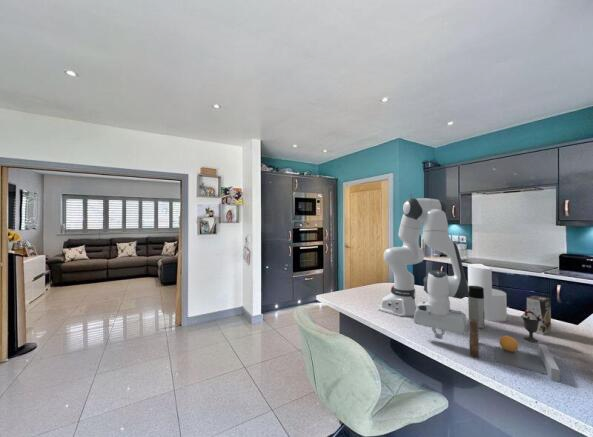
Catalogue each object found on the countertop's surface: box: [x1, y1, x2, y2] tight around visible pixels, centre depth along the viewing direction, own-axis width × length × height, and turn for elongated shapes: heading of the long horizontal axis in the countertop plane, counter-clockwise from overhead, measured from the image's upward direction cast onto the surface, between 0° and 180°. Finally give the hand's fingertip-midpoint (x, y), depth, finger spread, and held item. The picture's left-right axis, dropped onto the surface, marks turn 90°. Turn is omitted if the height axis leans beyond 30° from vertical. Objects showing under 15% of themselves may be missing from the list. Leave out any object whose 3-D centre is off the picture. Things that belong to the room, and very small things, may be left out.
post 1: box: [469, 321, 479, 334], centre depth 111 cm, size 3×3×9 cm
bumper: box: [538, 343, 561, 383], centre depth 92 cm, size 2×20×4 cm, turn 144°
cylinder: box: [467, 263, 508, 322], centre depth 141 cm, size 17×17×28 cm
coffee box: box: [526, 295, 552, 336], centre depth 121 cm, size 9×6×16 cm
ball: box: [498, 335, 519, 352], centre depth 103 cm, size 6×6×6 cm
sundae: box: [520, 305, 541, 344], centre depth 112 cm, size 7×7×15 cm
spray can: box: [467, 286, 486, 329], centre depth 128 cm, size 7×7×20 cm
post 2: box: [468, 331, 480, 359], centre depth 100 cm, size 3×3×9 cm
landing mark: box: [493, 345, 548, 375], centre depth 97 cm, size 14×14×1 cm
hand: (438, 338), depth 112 cm, fingers closed
